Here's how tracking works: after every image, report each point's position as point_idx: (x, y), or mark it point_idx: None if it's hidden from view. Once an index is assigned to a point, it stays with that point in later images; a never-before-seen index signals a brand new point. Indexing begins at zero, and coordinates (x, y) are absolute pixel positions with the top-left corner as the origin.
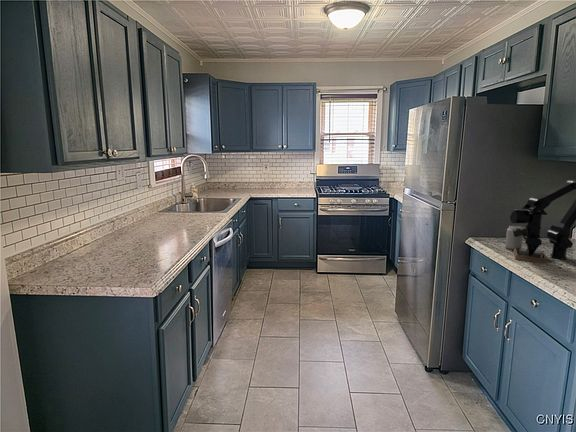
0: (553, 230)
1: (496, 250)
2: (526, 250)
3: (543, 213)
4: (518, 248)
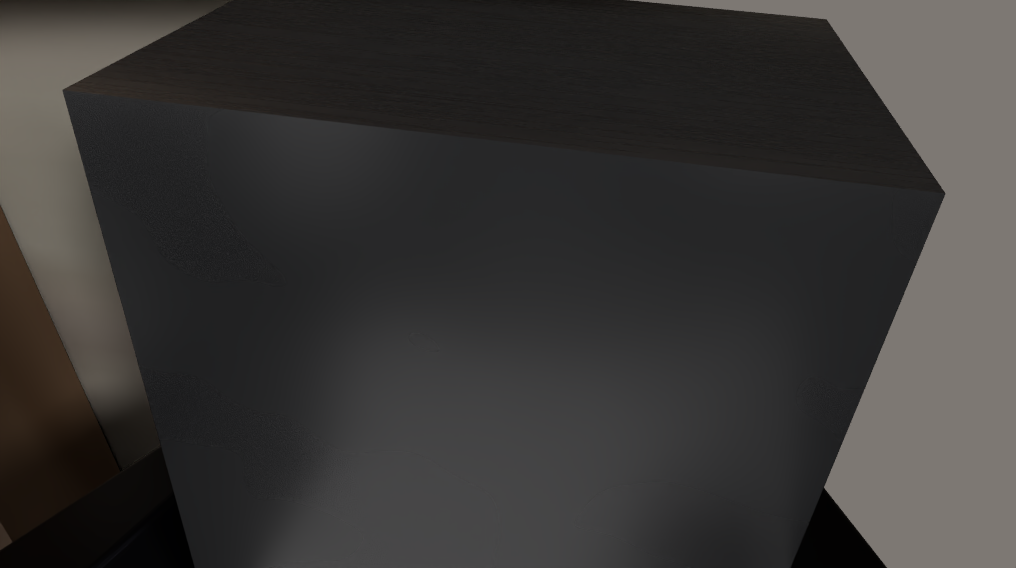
0: None
1: None
2: (326, 473)
3: None
4: None
